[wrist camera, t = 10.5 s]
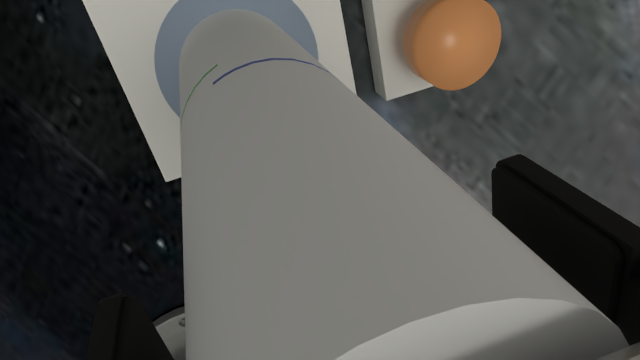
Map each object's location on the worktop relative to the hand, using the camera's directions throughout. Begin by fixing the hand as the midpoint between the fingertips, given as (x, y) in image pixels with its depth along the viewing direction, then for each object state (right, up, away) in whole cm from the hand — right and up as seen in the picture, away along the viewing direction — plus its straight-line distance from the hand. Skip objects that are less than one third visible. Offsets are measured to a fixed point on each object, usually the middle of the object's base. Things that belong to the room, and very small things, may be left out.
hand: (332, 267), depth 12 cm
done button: (+7, +11, +16) cm, 21 cm away
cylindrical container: (-5, +9, +17) cm, 20 cm away
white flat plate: (-5, +9, +17) cm, 20 cm away
